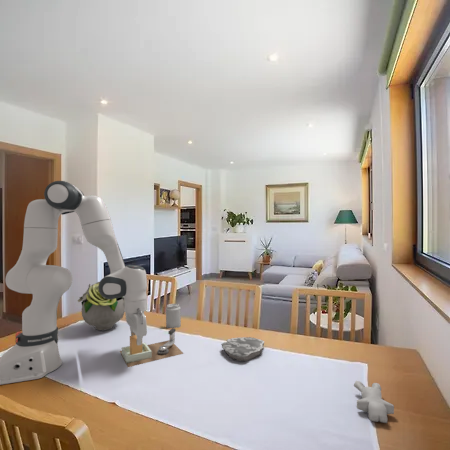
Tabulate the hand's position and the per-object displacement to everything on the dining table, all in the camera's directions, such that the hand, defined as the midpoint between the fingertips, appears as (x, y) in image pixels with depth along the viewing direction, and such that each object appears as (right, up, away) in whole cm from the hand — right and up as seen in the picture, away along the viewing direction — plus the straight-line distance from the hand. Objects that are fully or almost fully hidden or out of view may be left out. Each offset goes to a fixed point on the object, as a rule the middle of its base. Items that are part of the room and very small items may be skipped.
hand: (136, 340), depth 117 cm
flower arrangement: (-28, -8, +36) cm, 46 cm away
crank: (+12, -5, +6) cm, 14 cm away
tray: (0, -6, 0) cm, 6 cm away
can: (+9, -8, +35) cm, 37 cm away
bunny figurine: (+78, -7, -32) cm, 85 cm away
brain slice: (+43, -8, +6) cm, 44 cm away
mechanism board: (+5, -8, +3) cm, 10 cm away
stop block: (0, -6, 0) cm, 6 cm away
